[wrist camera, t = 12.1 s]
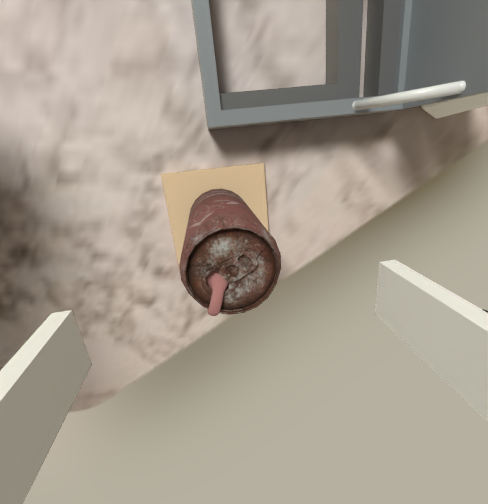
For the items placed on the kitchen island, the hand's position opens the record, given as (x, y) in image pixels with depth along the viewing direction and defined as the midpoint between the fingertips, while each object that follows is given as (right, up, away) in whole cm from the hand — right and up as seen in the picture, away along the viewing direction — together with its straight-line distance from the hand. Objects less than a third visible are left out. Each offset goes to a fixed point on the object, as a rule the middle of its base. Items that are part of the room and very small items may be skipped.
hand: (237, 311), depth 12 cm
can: (-2, +6, +17) cm, 18 cm away
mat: (-2, +6, +17) cm, 18 cm away
